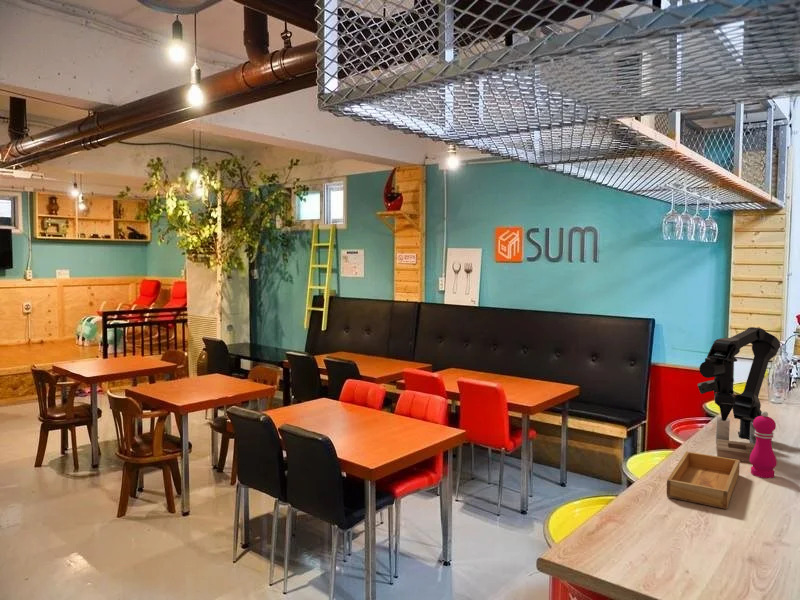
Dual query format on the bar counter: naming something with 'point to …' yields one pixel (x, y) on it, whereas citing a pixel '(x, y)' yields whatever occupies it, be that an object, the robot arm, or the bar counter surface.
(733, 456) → the bore block
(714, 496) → the tray
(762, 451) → the pepper mill
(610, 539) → the bar counter surface
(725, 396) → the robot arm
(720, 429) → the square bit
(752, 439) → the round bit
